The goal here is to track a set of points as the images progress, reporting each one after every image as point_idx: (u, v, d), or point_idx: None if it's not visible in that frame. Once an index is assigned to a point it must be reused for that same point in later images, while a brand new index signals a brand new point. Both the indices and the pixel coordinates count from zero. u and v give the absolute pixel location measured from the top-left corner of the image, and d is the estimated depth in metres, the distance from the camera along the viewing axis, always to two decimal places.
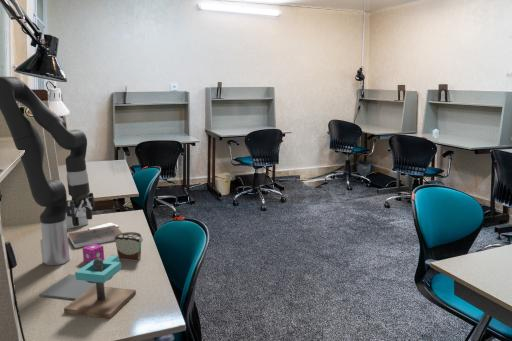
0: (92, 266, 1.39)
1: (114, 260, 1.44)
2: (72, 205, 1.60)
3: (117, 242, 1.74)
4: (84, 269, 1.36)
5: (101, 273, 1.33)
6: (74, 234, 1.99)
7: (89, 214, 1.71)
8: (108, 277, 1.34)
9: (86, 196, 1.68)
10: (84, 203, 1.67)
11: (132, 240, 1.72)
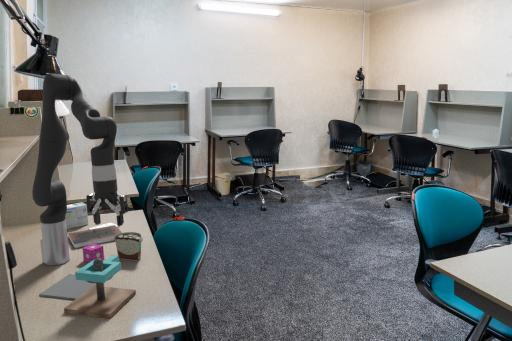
0: (92, 266, 1.39)
1: (114, 260, 1.44)
2: None
3: (117, 242, 1.74)
4: (84, 269, 1.36)
5: (101, 273, 1.33)
6: (74, 234, 1.99)
7: (99, 217, 1.45)
8: (108, 277, 1.34)
9: None
10: None
11: (132, 240, 1.72)
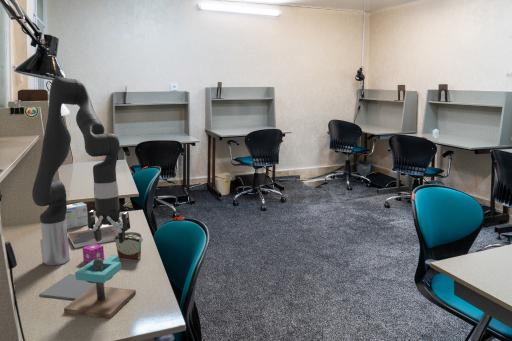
0: (92, 266, 1.39)
1: (114, 260, 1.44)
2: None
3: (117, 242, 1.74)
4: (84, 269, 1.36)
5: (101, 273, 1.33)
6: (74, 234, 1.99)
7: (100, 234, 1.45)
8: (108, 277, 1.34)
9: None
10: None
11: (132, 240, 1.72)
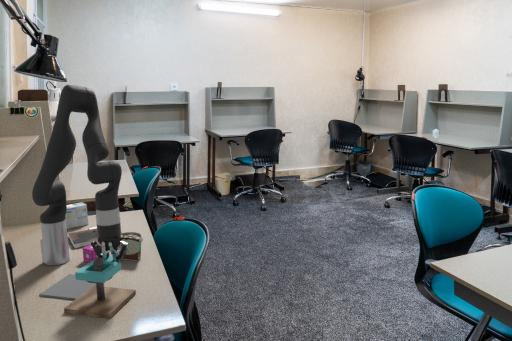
0: (92, 266, 1.39)
1: None
2: None
3: None
4: (84, 269, 1.36)
5: (101, 273, 1.33)
6: (74, 234, 1.99)
7: None
8: (108, 277, 1.34)
9: None
10: None
11: (132, 240, 1.72)
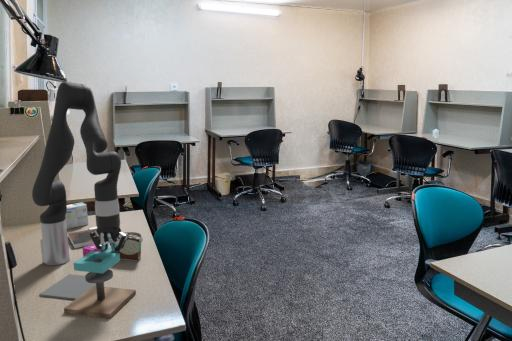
0: (91, 257, 1.39)
1: None
2: None
3: None
4: (82, 260, 1.35)
5: (99, 264, 1.32)
6: (74, 234, 1.99)
7: None
8: (106, 268, 1.34)
9: None
10: None
11: (132, 240, 1.72)
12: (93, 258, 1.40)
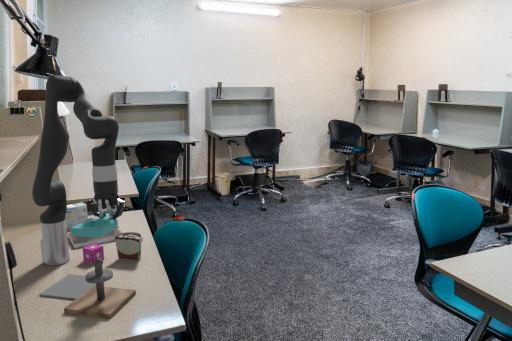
0: (88, 223, 1.37)
1: None
2: None
3: (117, 242, 1.74)
4: (80, 225, 1.33)
5: (97, 228, 1.30)
6: None
7: None
8: (104, 233, 1.31)
9: None
10: None
11: (132, 240, 1.72)
12: (91, 225, 1.38)
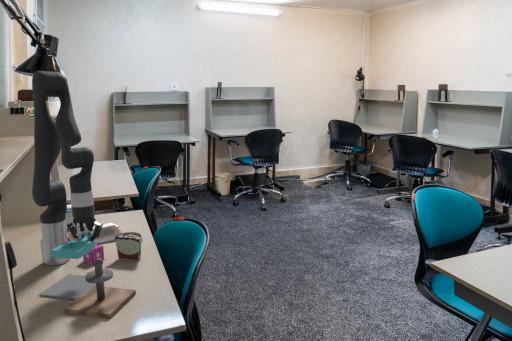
0: (67, 245, 1.50)
1: None
2: None
3: (117, 242, 1.74)
4: (59, 247, 1.46)
5: (75, 250, 1.43)
6: None
7: None
8: (82, 254, 1.45)
9: None
10: None
11: (132, 240, 1.72)
12: (70, 246, 1.51)
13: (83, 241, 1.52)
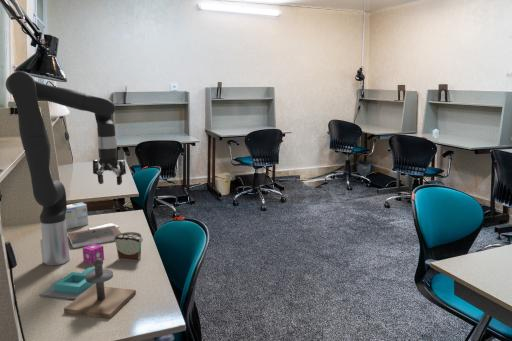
0: (70, 278, 1.52)
1: None
2: None
3: (117, 242, 1.74)
4: (62, 281, 1.49)
5: (77, 285, 1.46)
6: (73, 234, 1.99)
7: (102, 178, 1.85)
8: (84, 288, 1.47)
9: None
10: None
11: (132, 240, 1.72)
12: (72, 279, 1.54)
13: (85, 274, 1.54)
